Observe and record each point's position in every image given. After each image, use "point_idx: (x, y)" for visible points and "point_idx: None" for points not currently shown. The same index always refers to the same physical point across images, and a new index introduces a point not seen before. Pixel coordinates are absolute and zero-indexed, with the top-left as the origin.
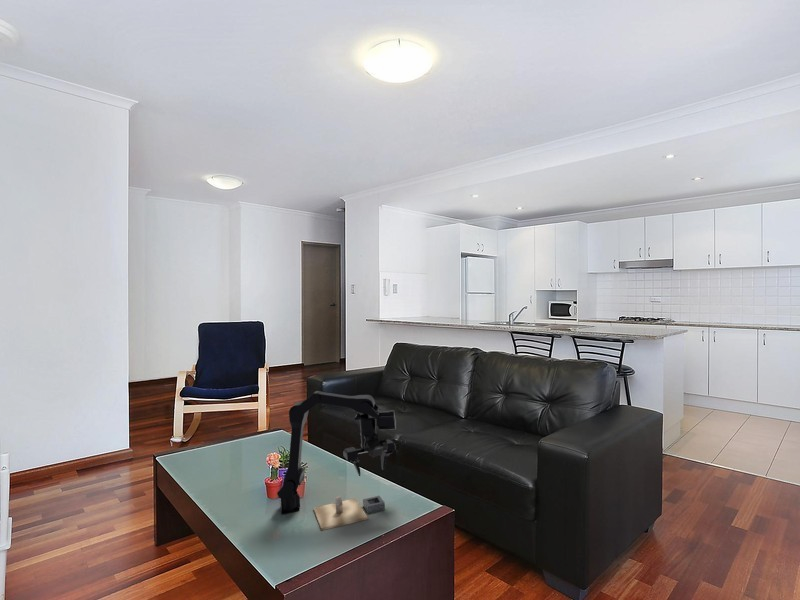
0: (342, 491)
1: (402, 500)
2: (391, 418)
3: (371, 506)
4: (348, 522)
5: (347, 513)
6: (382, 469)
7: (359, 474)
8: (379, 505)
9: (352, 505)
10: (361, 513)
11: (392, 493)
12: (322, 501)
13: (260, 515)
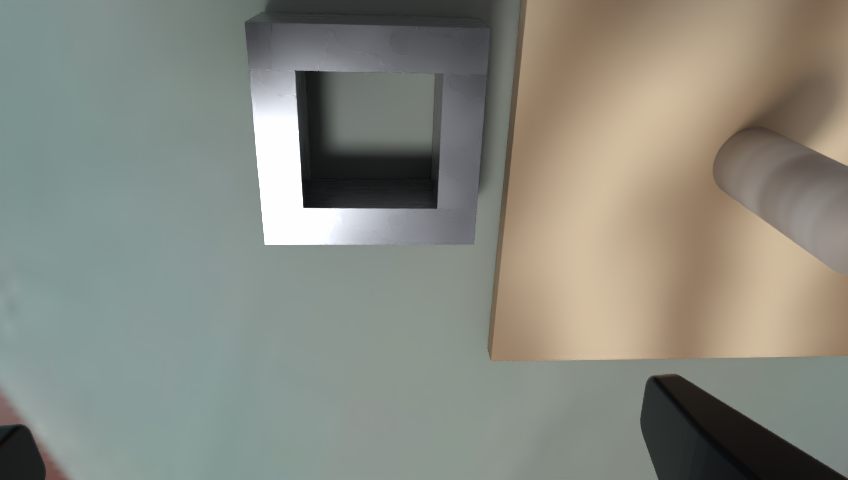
0: None
1: (9, 142)
2: None
3: (435, 26)
4: None
5: (696, 92)
6: (29, 457)
7: (697, 394)
8: (324, 20)
9: (575, 239)
10: (565, 9)
11: (100, 335)
12: None
13: None
